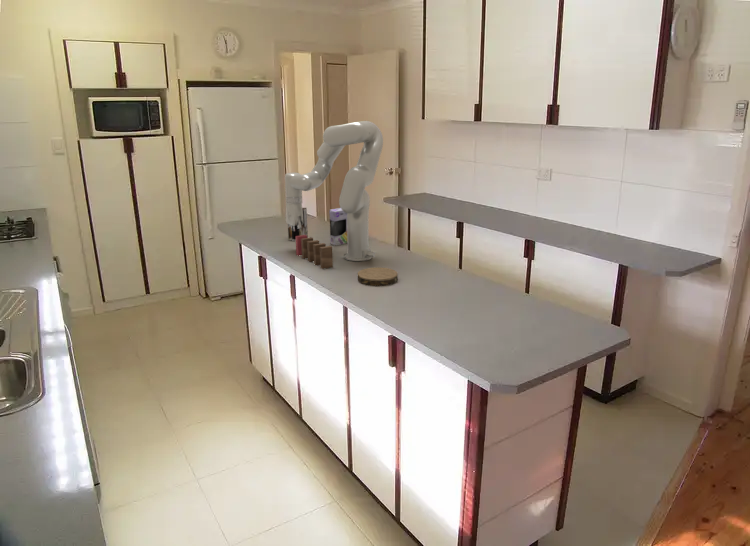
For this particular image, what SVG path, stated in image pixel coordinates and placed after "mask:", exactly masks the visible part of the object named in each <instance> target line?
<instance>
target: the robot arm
mask: <svg viewBox="0 0 750 546" xmlns="http://www.w3.org/2000/svg"><path fill="white" fill-rule="evenodd" d="M322 139H323V142H322V143H321V145H320V146H319V148H318V149H317V151H316V155H317V157H318V159H317V162H316V164H315V166H314V167H313V169H312V170H311V171H309V172H307V173H303V174H301V173H299V172H287V173H285V174H284V190H285V222H286V224H287V225H288V224H290V225H291V230H293V231H292V239H294V240H295V239H296V238H295V236H300V235H299V231H300V228H301V225H303V210H302V208H303V192H308V191H311V190H314V189H317V188H319V187H320V186H321V185H322V184H323V183H324V182H325V180H326V179H327V177H329V174H330V173H331V170H332V169H333V165H334V162H335V161H336V159H337V158H338V157H339V156H340V154H341V152H342V151H343V149H344V148H345V146H351V145H356V144H361V143H363V145H362V149H361V151H360V153H359V156H358V157H359V158H358V159H357V160H358V161H357V164H356V165H355V166H354V167H351V168H349V170H348V171H347V173H346V174H345V177H344V179H343V183H342V187H341V191H340V194H339V199H338V204H339V208H341V209H342V210H343V211H344V212H345V213H348V214H347V243H346V244H347V253H345V254H344V255H343V256H344V257H343V258H344V259H345V260H347V261H350V262H366V261H369V260H371V259H372V258H375V257H376V252H375V251H372V250H371V247H369V246H370V245H369V213H370V212H369V211H370V205H371V204H370V202H371V198H370V194H369V192H368V191H367V190H366V189H365V188H367V187H368V186H370V185H371V184H373V182H374V180H375V176H376V173H377V169H378V165H379V162H380V161H379V160H380V157H381V154H382V150H383V146H384V137H383V133H382V131H381V129H380V128H379V126H378V125H377V124H375V123H374V122H372V121H369V120H361V121H355V122H354V121H353V122H349V123H348V122H347V123H344V124H338V125H330V126H328V127H326V129H324V131H323V133H322Z"/></svg>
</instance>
